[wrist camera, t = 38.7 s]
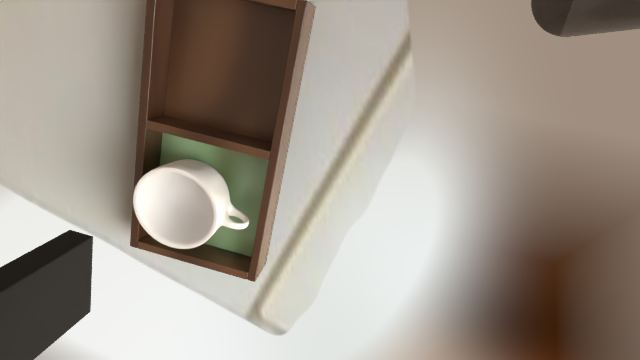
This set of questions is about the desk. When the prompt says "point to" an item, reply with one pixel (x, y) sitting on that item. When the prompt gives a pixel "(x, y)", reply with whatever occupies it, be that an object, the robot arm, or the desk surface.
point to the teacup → (184, 204)
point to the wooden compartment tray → (223, 111)
